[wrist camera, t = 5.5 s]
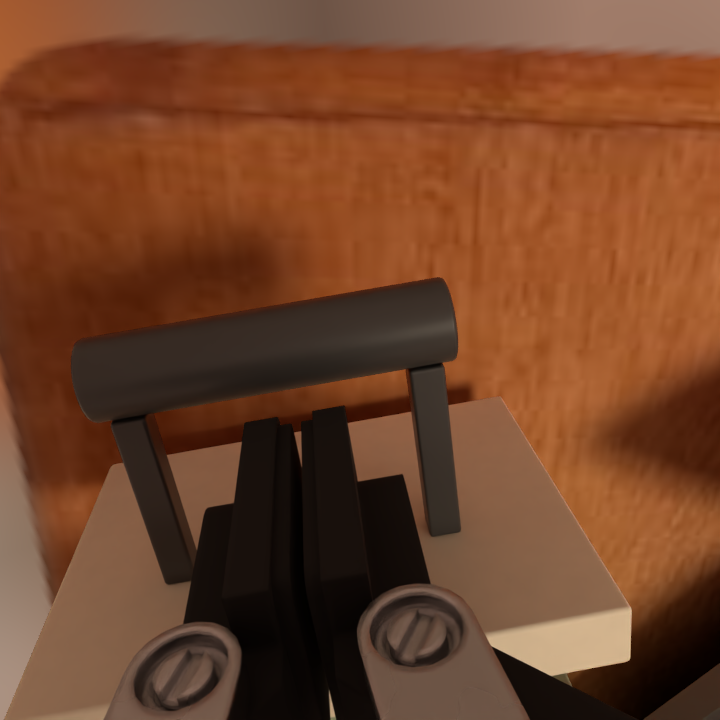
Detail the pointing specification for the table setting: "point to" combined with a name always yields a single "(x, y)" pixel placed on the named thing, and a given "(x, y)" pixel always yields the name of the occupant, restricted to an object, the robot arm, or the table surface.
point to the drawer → (371, 456)
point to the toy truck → (694, 700)
